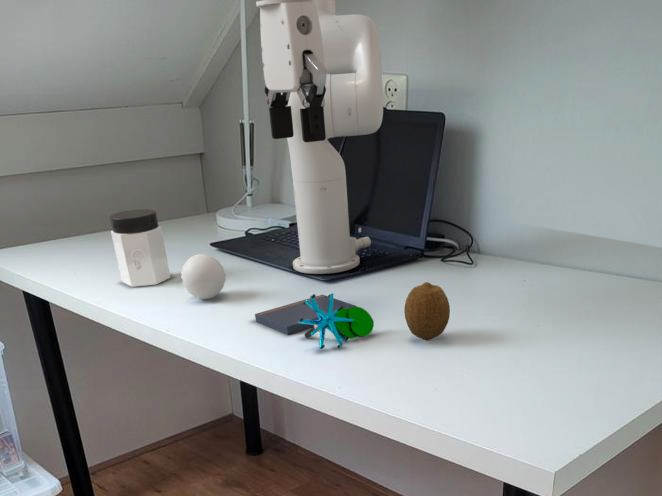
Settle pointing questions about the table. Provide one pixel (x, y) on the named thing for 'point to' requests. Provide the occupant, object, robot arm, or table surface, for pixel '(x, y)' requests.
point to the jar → (139, 247)
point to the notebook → (296, 314)
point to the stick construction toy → (339, 322)
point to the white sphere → (203, 276)
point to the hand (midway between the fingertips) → (298, 139)
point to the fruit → (427, 311)
